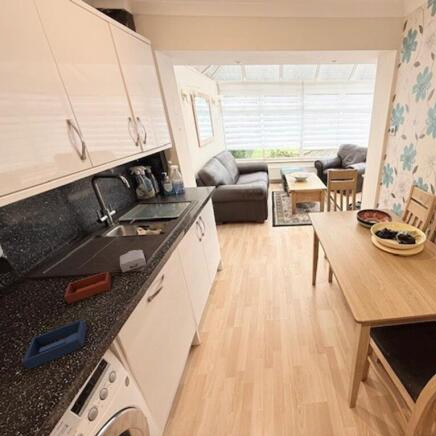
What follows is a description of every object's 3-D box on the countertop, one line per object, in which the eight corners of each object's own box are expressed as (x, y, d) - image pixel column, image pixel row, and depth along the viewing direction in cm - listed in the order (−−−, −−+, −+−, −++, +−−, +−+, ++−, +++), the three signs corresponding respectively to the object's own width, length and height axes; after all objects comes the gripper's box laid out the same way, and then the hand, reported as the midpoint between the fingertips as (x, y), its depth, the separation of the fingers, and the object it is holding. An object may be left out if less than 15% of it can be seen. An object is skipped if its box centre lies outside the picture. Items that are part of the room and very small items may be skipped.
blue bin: (29, 371, 67) (22, 362, 65) (39, 346, 74) (32, 337, 72) (83, 348, 72) (78, 339, 71) (87, 327, 80) (82, 318, 78)
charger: (143, 251, 121) (146, 265, 110) (122, 258, 117) (123, 273, 106) (140, 243, 119) (143, 257, 108) (118, 250, 115) (119, 264, 104)
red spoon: (76, 296, 93) (75, 293, 92) (78, 291, 96) (76, 288, 95) (106, 286, 97) (104, 283, 97) (107, 282, 100) (105, 279, 99)
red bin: (69, 304, 90) (64, 296, 88) (73, 290, 97) (68, 283, 95) (110, 290, 96) (106, 282, 94) (111, 278, 103) (108, 270, 101)
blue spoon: (40, 358, 70) (37, 355, 69) (43, 349, 72) (40, 345, 72) (81, 342, 74) (78, 338, 73) (82, 333, 77) (80, 330, 76)
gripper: (-44, 218, 63) (-6, 270, 70) (-91, 246, 49) (-37, 307, 57) (-4, 211, 66) (29, 261, 74) (-38, 235, 53) (7, 294, 60)
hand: (0, 281), depth 65 cm, fingers open, 9 cm apart
